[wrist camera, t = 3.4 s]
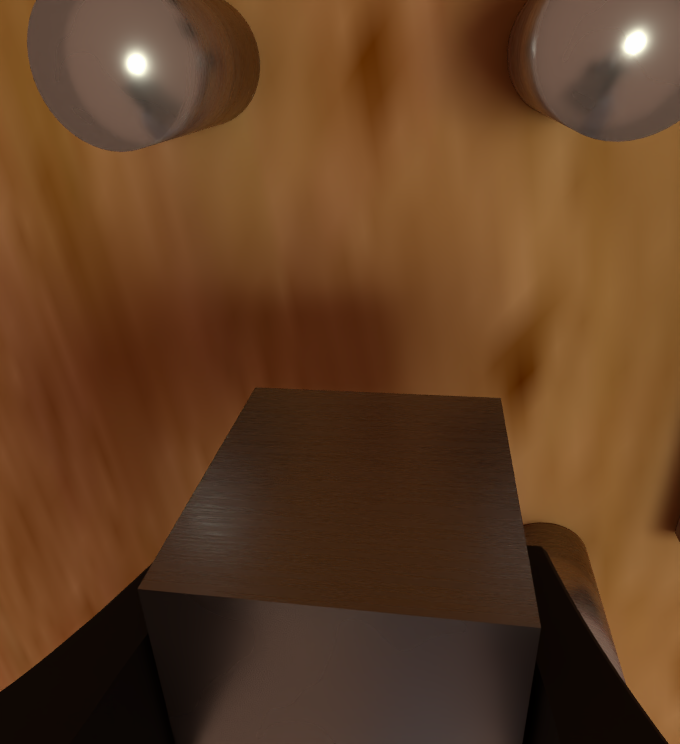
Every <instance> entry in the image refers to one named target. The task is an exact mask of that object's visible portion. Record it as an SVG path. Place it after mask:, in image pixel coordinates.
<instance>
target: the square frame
mask: <svg viewBox="0 0 680 744" xmlns="http://www.w3.org/2000/svg"><path fill="white" fill-rule="evenodd" d="M675 533H676V536H677V538H678V540H679V542H680V517H679V521H678V525H677V528H676V532H675Z"/></svg>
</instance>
